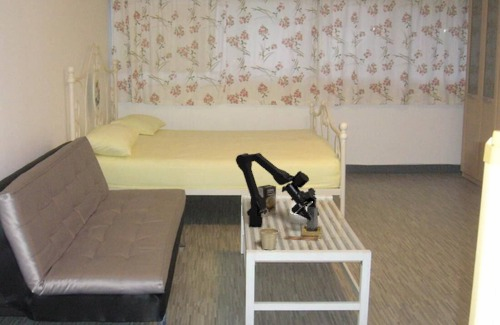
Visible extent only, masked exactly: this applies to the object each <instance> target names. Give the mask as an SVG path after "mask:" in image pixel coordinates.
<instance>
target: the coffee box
mask: <svg viewBox="0 0 500 325" xmlns="http://www.w3.org/2000/svg"><path fill="white" fill-rule="evenodd" d="M257 188H258V191H259V194H260V196H261V197H265V201H266V203H267V204H266V209H265V210H264V212H263V213H262V217H265V216H271V215H276V214H277V209H276V208H277V186H276V185H273V184H272V185H271V184H266V185H260V186H257Z"/></svg>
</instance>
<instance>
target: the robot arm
mask: <svg viewBox="0 0 500 325" xmlns="http://www.w3.org/2000/svg"><path fill="white" fill-rule="evenodd" d="M253 162H255V163H256V164H258V165H259V166H260V167H262V168H263V169H264V170H265V171H266V172H267V173H268V174H270V175H271V176H272V178H273V180H274V181H275V183H277V185H279V186H281V192H282V193H284V192H286V193H287V194H288V195H289V196H290V197H291V198H290V200H291V201H292V202H293V201H294V202H295V204H294V205H293V206H292V207H291V212H292V213H293V214H295V215H297V216H300V217H302V218H305V219H306V220H307V219H308V220H311V217H310V216H309V214H308V212H307V208H309V207H317V205H316V204H317V202H318V201H317V200H318V199H317V197H316V190H315V188H313V187H310V188H308V189H307V190H308V191H307V190H306V191H304V190H300V189H302V188H303V187H304V186H305V185H306V184H307V183H308V182H309V181H310V177H309V176H308V175H307V174H305V173H304V172H302V171H301V170H299V171H298V172H297V173H296V174H295V175H291V174H290V173H289V172H287V171H286V170H283V169H280V168H278V167H277V166H276V165H275V164H274V163H272V162H271V161H270V160H269V159H267V158H266V157H265V156H264V155H263V154H262V153H261V152H256V153H252V154H251V153H250V154H249V153H247V152H246V153H245V152H243V153H242V154H238V155H237V156H236V157H235V163H236V165H237V167H238V168H239V169H240V170H241V172H242V174H243V177H244V181H245V183H246V186H247V189H248V193H249V195H250V196H249V197H250V200H249V201H250V203H249V205H250V208H249V209H248V210H247V211H246V214H247V216H249V219H248V220H249V222H248V228H262V226H263V223H264V220H263V218H264V216H262V213H263V212H264V210H265V209H266V204H267V203H266V201H265V197H261V196H260V194H259V191H258V186H257V185H258V184H257V182H256V179H255V175H254V172H253V170H252V168H253ZM319 215H320V213H319V211H318V217H319Z"/></svg>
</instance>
